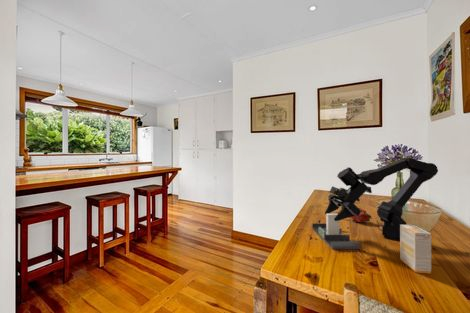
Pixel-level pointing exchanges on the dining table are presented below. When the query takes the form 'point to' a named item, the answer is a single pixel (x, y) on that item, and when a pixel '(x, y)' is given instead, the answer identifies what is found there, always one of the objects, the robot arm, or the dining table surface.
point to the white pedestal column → (332, 224)
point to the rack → (335, 238)
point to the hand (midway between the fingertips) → (329, 217)
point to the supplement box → (415, 248)
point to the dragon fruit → (361, 217)
